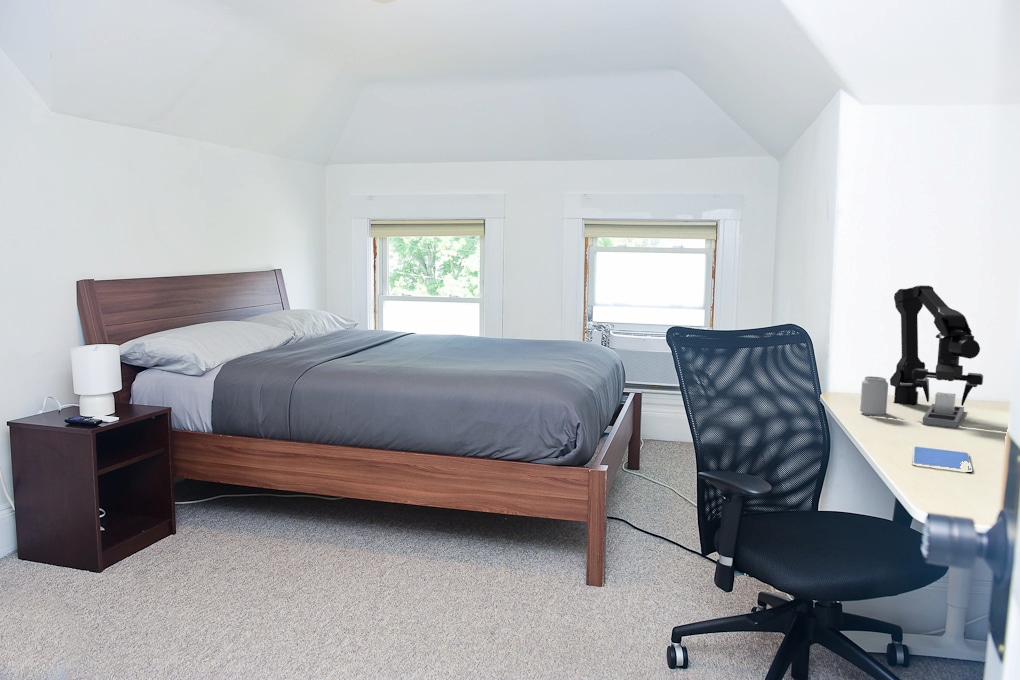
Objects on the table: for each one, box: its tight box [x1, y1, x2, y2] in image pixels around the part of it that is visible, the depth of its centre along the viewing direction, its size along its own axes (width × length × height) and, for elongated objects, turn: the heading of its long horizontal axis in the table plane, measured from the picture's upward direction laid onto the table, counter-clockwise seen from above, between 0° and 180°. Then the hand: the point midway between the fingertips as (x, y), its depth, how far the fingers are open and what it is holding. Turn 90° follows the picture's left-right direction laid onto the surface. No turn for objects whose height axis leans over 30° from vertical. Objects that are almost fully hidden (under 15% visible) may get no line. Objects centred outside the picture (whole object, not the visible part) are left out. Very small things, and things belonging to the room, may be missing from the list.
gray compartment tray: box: [921, 403, 965, 429], centre depth 227 cm, size 9×27×2 cm, turn 145°
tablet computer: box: [912, 446, 971, 470], centre depth 179 cm, size 19×13×1 cm, turn 150°
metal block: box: [934, 391, 957, 415], centre depth 226 cm, size 5×5×7 cm
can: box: [859, 375, 889, 417], centre depth 231 cm, size 8×8×12 cm
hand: (944, 403), depth 226 cm, fingers open, 9 cm apart
